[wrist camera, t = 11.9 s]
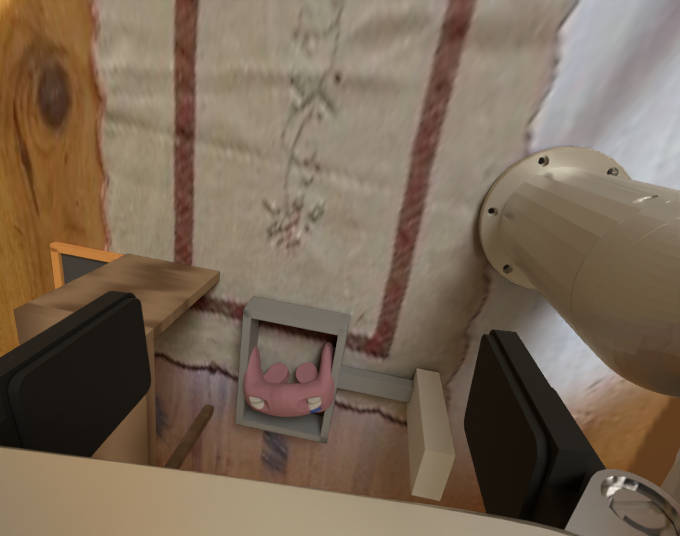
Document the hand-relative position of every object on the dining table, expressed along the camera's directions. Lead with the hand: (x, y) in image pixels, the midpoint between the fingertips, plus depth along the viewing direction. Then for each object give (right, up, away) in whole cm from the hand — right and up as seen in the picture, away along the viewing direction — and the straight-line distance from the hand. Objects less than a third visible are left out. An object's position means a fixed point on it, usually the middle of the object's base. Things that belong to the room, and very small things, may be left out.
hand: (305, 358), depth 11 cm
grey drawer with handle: (+1, -9, +32) cm, 33 cm away
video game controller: (-4, -8, +32) cm, 33 cm away
